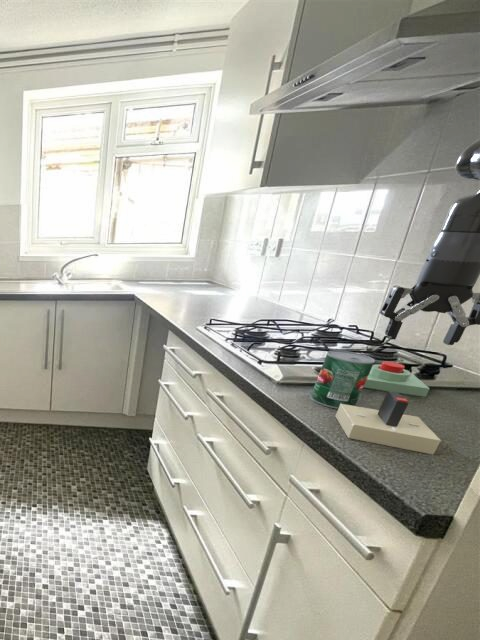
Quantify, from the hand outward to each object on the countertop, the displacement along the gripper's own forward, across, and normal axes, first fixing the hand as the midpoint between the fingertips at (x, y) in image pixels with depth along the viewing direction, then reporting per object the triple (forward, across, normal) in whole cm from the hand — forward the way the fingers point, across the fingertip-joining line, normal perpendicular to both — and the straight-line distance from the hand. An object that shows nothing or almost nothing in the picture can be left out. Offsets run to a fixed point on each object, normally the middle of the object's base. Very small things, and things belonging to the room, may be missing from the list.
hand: (418, 341), depth 83 cm
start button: (+12, -5, -18) cm, 22 cm away
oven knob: (+13, +5, +13) cm, 19 cm away
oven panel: (+16, +5, +13) cm, 21 cm away
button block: (+16, -5, -18) cm, 25 cm away
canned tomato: (+16, +10, 0) cm, 18 cm away
